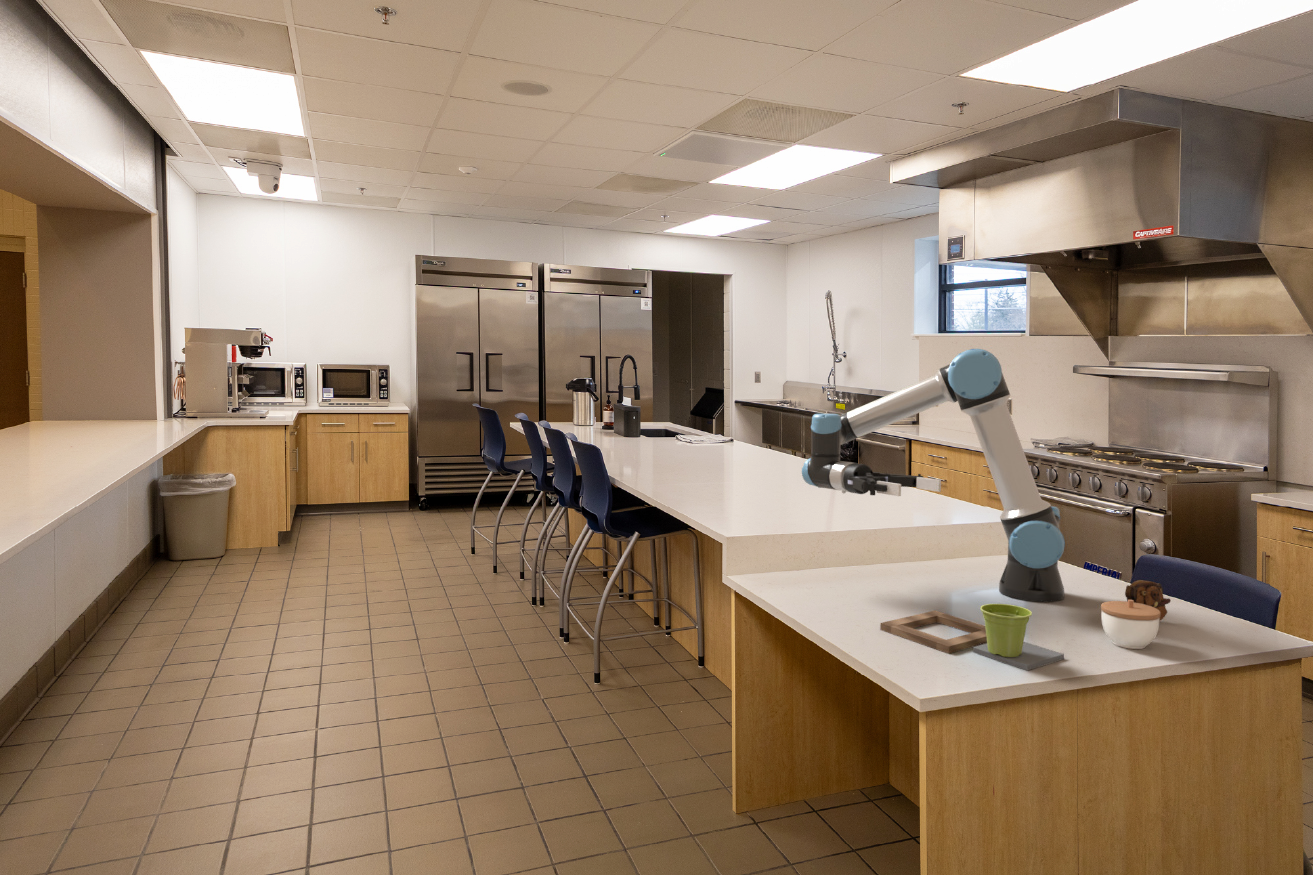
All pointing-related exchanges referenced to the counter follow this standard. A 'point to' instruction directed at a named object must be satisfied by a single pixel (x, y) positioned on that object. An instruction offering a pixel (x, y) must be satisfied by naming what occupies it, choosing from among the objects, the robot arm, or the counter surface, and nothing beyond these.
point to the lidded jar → (1130, 623)
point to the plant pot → (1005, 628)
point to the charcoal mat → (1024, 656)
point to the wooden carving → (1148, 595)
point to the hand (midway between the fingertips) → (920, 488)
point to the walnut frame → (905, 630)
